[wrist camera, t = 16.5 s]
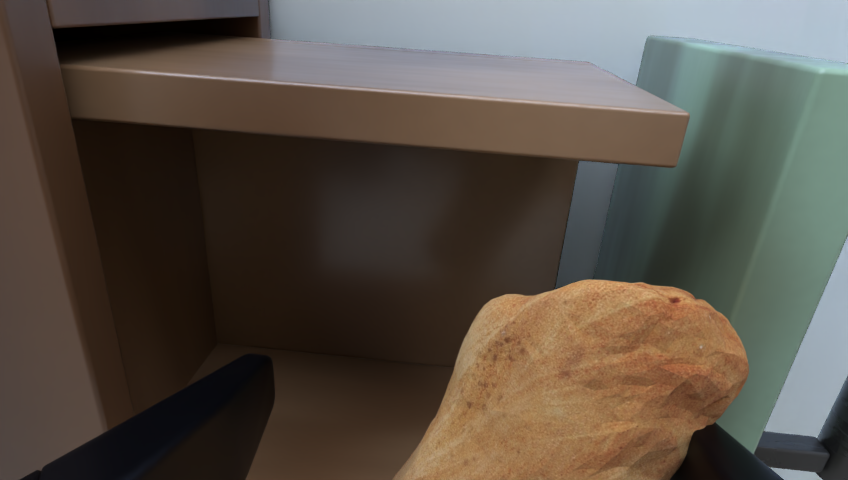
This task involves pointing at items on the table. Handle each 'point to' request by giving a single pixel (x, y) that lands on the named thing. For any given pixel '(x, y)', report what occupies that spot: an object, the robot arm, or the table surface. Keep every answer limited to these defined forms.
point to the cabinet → (65, 226)
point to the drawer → (442, 216)
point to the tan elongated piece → (582, 386)
